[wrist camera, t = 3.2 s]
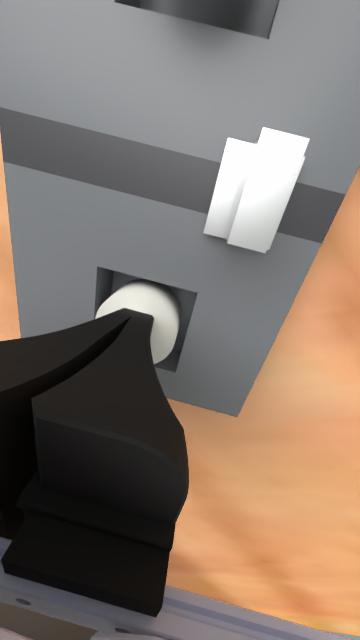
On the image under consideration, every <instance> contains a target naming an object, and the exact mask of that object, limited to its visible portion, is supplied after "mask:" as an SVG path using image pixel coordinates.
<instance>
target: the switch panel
mask: <svg viewBox="0 0 360 640" xmlns="http://www.w3.org/2000/svg"><path fill="white" fill-rule="evenodd" d="M263 127H265V128H269V129H273V130H277V131H281V132H285V133H289V134H293V135H297V136H301V137H305V138H309V139H310V140H309V142H308V145H307V148H306V150H305V153H304V155H303V156H304V157H305V160H304V162H303V165H302V168H301V170H300V173H299V175H298V178H297V180H296V183H295V185H294V188H293V190H292V193H291V196H290V198H289V201H288V203H287V206H286V208H285V211H284V213H283V216H282V218H281V221H280V224H279V226H278V229H277V231H276V234H275V236H274V239H273V241H272V244H271V246H270V249H269V250H267V251H266V253H262V252H258V251H255V250H251V249H247V248H243V247H239V246H235V245H231V244H228V243H227V241H226V239H224V238H221V237H217V236H213V235H209V234H205V233H203V232H204V228H205V224H206V220H207V217H208V213H209V209H210V205H211V201H212V197H213V193H214V189H215V186H216V182H217V178H218V174H219V170H220V166H221V162H222V159H223V155H224V151H225V147H226V143H227V139H228V138H232V139H236V140H240V141H244V142H248V143H252V144H253V142H254V141H255V139H256V138H257V136H258V134H259V133H260V131H261V129H262V128H263ZM0 132H1V142H2V152H3V162H4V172H5V182H6V192H7V202H8V212H9V222H10V232H11V242H12V252H13V262H14V272H15V282H16V292H17V302H18V312H19V322H20V332H21V338H26V337H32V336H38V335H43V334H47V333H51V332H55V331H59V330H63V329H67V328H70V327H73V326H76V325H79V324H82V323H85V322H88V321H91V320H94V319H95V318H96V314H97V311H98V309H99V308H100V306H101V305H102V304H103V303H104V302H105V301H106V300H107V299H108V298H109V297H110V296H111V295H113V294H114V293H115V292H116V291H117V290H118V289H119V288H120V287H122V286H123V285H124V284H126V283H128V282H129V281H132V280H136V279H147V280H151V281H155V282H159V283H161V284H163V285H165V286H166V287H167V288H169V289H170V290H171V291H172V292H173V293H174V295H175V296H176V298H177V299H178V301H179V304H180V307H181V312H182V319H181V324H180V327H179V330H178V334H177V337H176V340H175V344H174V347H173V349H172V351H171V352H170V354H169V355H168V356H167V357H166V358H165V359H163V360H162V361H160V362H158V363H156V364H154V367H155V370H156V374H157V377H158V380H159V382H160V385H161V387H162V390H163V392H164V395H165V397H166V398H169V399H173V400H177V401H180V402H184V403H188V404H191V405H195V406H198V407H202V408H206V409H209V410H213V411H217V412H220V413H224V414H228V415H231V416H235V417H237V416H238V414H239V412H240V410H241V408H242V406H243V404H244V402H245V400H246V398H247V396H248V394H249V392H250V390H251V388H252V385H253V383H254V381H255V379H256V377H257V375H258V373H259V371H260V369H261V367H262V365H263V363H264V361H265V359H266V357H267V355H268V353H269V351H270V349H271V347H272V344H273V342H274V340H275V338H276V336H277V334H278V332H279V330H280V328H281V326H282V324H283V322H284V320H285V318H286V316H287V314H288V312H289V310H290V308H291V306H292V303H293V301H294V299H295V297H296V295H297V293H298V291H299V289H300V287H301V285H302V283H303V281H304V279H305V277H306V275H307V273H308V271H309V269H310V267H311V265H312V263H313V260H314V258H315V256H316V254H317V252H318V250H319V248H320V246H321V244H322V242H323V240H324V238H325V236H326V234H327V232H328V230H329V228H330V226H331V224H332V222H333V219H334V217H335V215H336V213H337V211H338V209H339V207H340V205H341V203H342V201H343V199H344V197H345V195H346V193H347V191H348V189H349V187H350V185H351V183H352V181H353V178H354V176H355V174H356V172H357V170H358V168H359V166H360V0H0Z"/></svg>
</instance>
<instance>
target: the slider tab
mask: <svg viewBox="0 0 360 640" xmlns="http://www.w3.org/2000/svg"><path fill="white" fill-rule="evenodd" d="M309 140H310V139H309V138H305V137H301V136H297V135H293V134H289V133H285V132H281V131H277V130H273V129H269V128H265V127H263V128H262V129H261V131H260V133H259V134H258V136H257V138H256V139H255V141H254V142H253V144H252V143H248V142H244V141H240V140H236V139H232V138H228V139H227V143H226V147H225V151H224V155H223V159H222V162H221V166H220V170H219V174H218V178H217V182H216V186H215V189H214V193H213V197H212V201H211V205H210V209H209V213H208V217H207V220H206V224H205V228H204V232H203V233H205V234H209V235H213V236H217V237H221V238H224V239H226V241H227V243H228V244H231V245H235V246H239V247H243V248H247V249H251V250H255V251H258V252H262V253H266V251H267V250H269V249H270V246H271V244H272V241H273V239H274V236H275V234H276V231H277V229H278V226H279V224H280V221H281V218H282V216H283V213H284V211H285V208H286V206H287V203H288V201H289V198H290V196H291V193H292V190H293V188H294V185H295V183H296V180H297V178H298V175H299V173H300V170H301V168H302V165H303V162H304V160H305V157H304V156H303V155H304V153H305V150H306V148H307V145H308V142H309Z"/></svg>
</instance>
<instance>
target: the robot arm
mask: <svg viewBox="0 0 360 640" xmlns="http://www.w3.org/2000/svg"><path fill="white" fill-rule="evenodd" d="M153 322H154V317H153V316H152V315H150V314H146V313H142V312H138V311H135V310H131V309H127V308H122V309H119V310H117V311H114V312H112V313H109V314H107V315H104V316H102V317H99V318H96V319H94V320H91V321H88V322H85V323H82V324H79V325H76V326H73V327H70V328H67V329H63V330H59V331H55V332H51V333H47V334H43V335H38V336H32V337H26V338H20V339H14V340H7V341H0V601H1V602H4V603H7V604H11V605H14V606H17V607H21V608H24V609H27V610H31V611H34V612H38V613H41V614H45V615H48V616H51V617H55V618H58V619H61V620H65V621H68V622H71V623H75V624H78V625H81V626H85V627H88V628H92V629H95V630H98V631H102V632H96V633H95V634H94V635H93V636H91V637H90V640H352V639H349V638H346V637H342V636H339V635H335V634H332V633H328V632H325V631H322V630H318V629H315V628H311V627H308V626H304V625H301V624H298V623H294V622H291V621H287V620H284V619H280V618H277V617H274V616H270V615H267V614H263V613H260V612H256V611H253V610H250V609H246V608H243V607H239V606H236V605H232V604H229V603H225V602H222V601H219V600H215V599H212V598H208V597H205V596H201V595H198V594H195V593H191V592H188V591H184V590H181V589H177V588H174V587H171V586H167V585H165V583H166V576H167V568H168V561H169V553H170V551H171V549H172V545H173V539H174V531H175V523H176V521H177V518H178V516H179V514H180V512H181V510H182V507H183V505H184V503H185V501H186V498H187V494H188V487H189V468H188V456H187V448H186V442H185V436H184V430H183V427H182V426H181V424H180V422H179V421H178V419H177V418H176V416H175V414H174V412H173V410H172V409H171V407H170V405H169V403H168V401H167V399H166V397H165V395H164V392H163V390H162V387H161V385H160V382H159V380H158V377H157V374H156V370H155V367H154V363H153V358H152V352H151V343H150V337H151V332H152V327H153ZM0 640H33V639H30V638H27V637H25V636H22V635H20V634H17V633H15V632H12V631H10V630H7V629H4V628H2V627H0Z"/></svg>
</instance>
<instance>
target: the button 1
mask: <svg viewBox="0 0 360 640" xmlns="http://www.w3.org/2000/svg"><path fill="white" fill-rule="evenodd" d="M122 308H127V309H131V310H135V311H138V312H142V313H146V314H150V315H152V316H153V317H154V322H153V327H152V332H151V337H150V343H151V352H152V358H153V363H154V364H156V363H158V362H160V361H162V360H163V359H165V358H166V357H167V356H168V355H169V354H170V352H171V351H172V349H173V347H174V344H175V340H176V337H177V334H178V330H179V327H180V324H181V319H182V312H181V307H180V304H179V301H178V299H177V298H176V296H175V295H174V293H173V292H172V291H171V290H170V289H169V288H167V287H166V286H165V285H163V284H161V283H159V282H155V281H151V280H147V279H136V280H132V281H129V282H128V283H126V284H124V285H123V286H122V287H120V288H119V289H118V290H117V291H116V292H115V293H114V294H113V295H111V296H110V297H109V298H108V299H107V300H106V301H105V302H104V303H103V304H102V305H101V306H100V308H99V309H98V311H97V314H96V318H99V317H102V316H104V315H107V314H109V313H112V312H114V311H117V310H119V309H122ZM96 318H95V319H96Z"/></svg>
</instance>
